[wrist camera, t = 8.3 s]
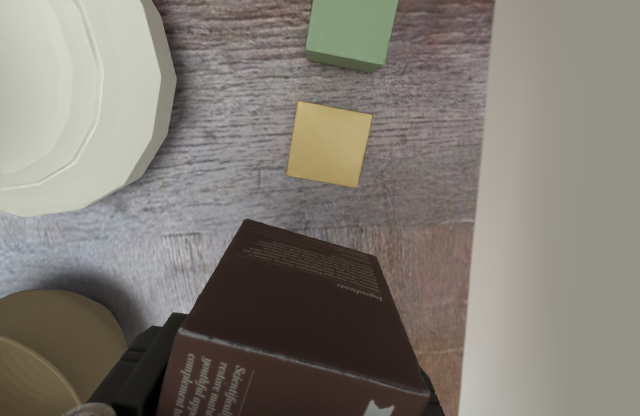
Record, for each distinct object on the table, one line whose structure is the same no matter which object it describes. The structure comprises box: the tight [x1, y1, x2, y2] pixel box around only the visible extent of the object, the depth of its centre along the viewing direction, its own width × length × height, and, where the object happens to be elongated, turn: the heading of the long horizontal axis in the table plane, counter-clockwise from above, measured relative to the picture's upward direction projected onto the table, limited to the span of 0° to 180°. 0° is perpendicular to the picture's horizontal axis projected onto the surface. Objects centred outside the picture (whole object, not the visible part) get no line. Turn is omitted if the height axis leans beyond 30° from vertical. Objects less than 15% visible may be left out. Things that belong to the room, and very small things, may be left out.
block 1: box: [305, 0, 398, 73], centre depth 22 cm, size 5×5×5 cm
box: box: [155, 219, 430, 416], centre depth 11 cm, size 6×6×7 cm
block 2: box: [286, 101, 373, 188], centre depth 25 cm, size 5×5×5 cm
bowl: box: [0, 289, 128, 416], centre depth 27 cm, size 13×13×10 cm
